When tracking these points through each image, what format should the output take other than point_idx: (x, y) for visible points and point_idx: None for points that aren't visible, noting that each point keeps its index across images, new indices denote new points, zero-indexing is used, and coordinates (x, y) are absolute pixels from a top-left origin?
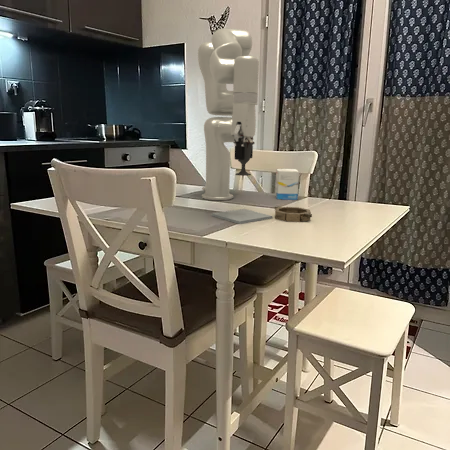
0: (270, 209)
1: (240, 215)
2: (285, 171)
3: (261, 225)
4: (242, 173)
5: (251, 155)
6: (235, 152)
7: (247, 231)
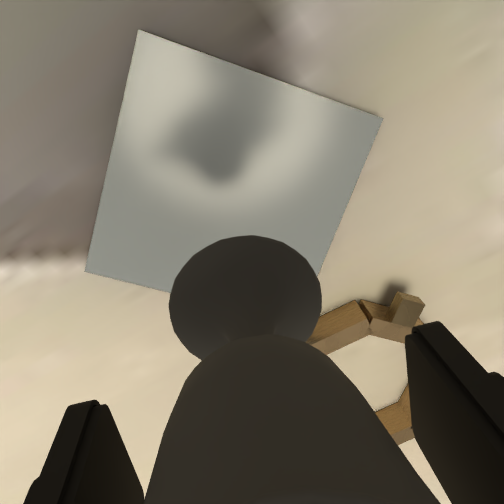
0: (494, 207)
1: (205, 202)
2: None
3: (139, 347)
4: (204, 331)
5: (429, 461)
6: (43, 494)
7: (4, 359)
